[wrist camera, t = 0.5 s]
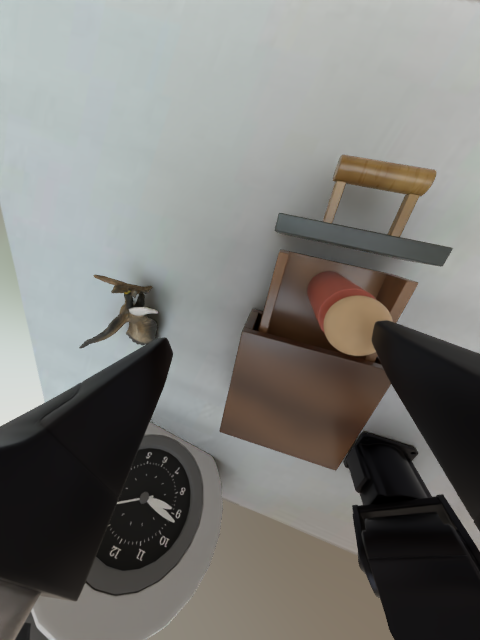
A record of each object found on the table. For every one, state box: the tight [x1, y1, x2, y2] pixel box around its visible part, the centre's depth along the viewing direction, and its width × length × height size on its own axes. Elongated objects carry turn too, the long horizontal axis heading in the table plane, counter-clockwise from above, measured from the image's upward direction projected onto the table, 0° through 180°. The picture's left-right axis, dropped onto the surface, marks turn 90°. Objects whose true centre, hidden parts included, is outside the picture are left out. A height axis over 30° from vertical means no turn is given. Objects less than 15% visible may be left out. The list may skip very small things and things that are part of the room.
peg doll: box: [307, 271, 393, 356], centre depth 14 cm, size 3×3×10 cm
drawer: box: [258, 155, 453, 362], centre depth 17 cm, size 15×11×4 cm
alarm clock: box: [25, 422, 223, 640], centre depth 26 cm, size 21×8×20 cm, turn 65°
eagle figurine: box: [79, 275, 159, 348], centre depth 23 cm, size 8×7×9 cm
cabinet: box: [220, 309, 391, 470], centre depth 22 cm, size 13×13×6 cm
